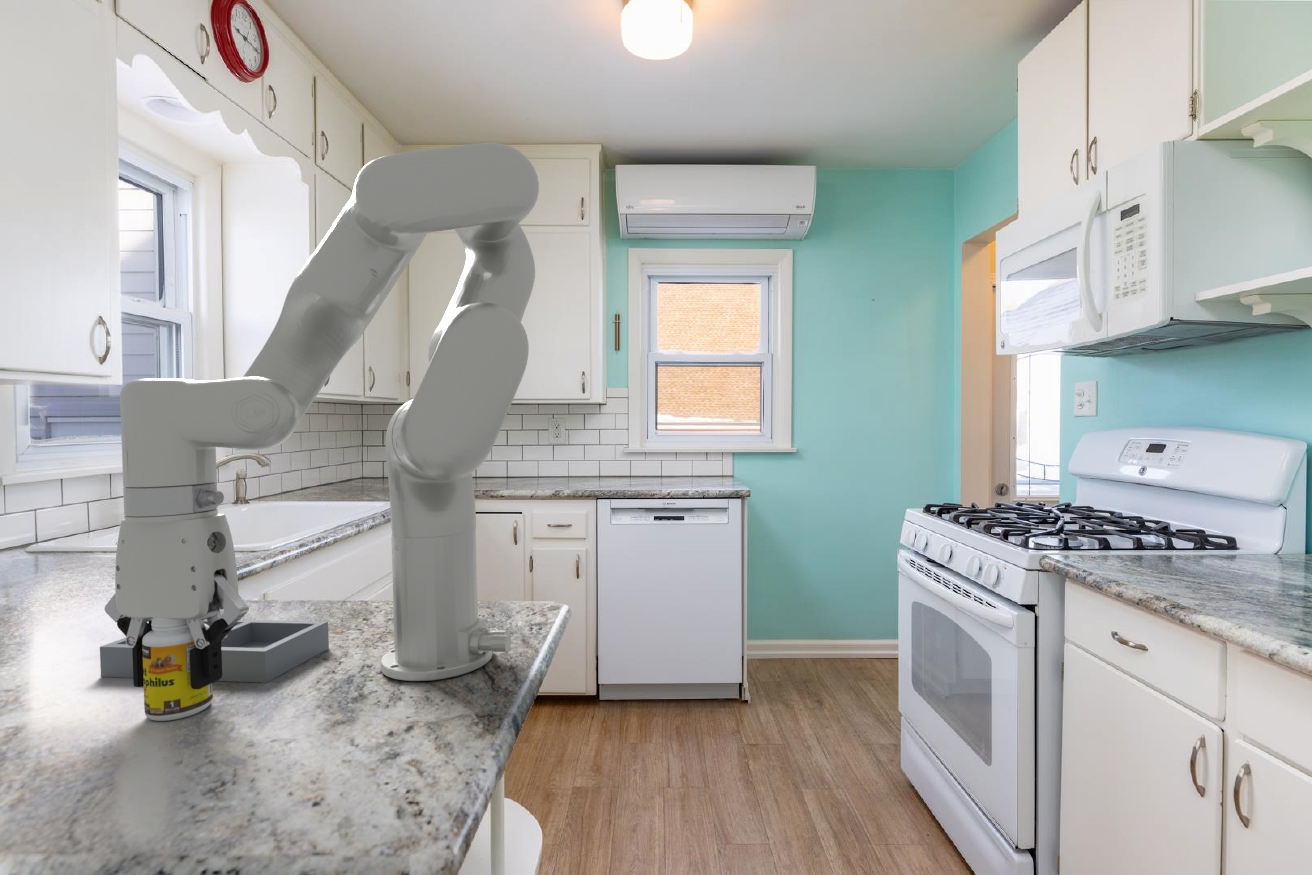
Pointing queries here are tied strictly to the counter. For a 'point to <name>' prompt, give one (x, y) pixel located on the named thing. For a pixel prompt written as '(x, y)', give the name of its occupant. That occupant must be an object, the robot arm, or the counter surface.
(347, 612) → the counter surface
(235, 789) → the counter surface
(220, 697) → the counter surface
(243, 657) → the divided tray
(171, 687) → the supplement bottle
